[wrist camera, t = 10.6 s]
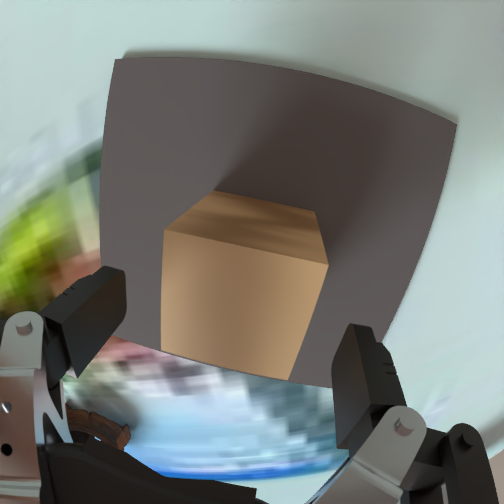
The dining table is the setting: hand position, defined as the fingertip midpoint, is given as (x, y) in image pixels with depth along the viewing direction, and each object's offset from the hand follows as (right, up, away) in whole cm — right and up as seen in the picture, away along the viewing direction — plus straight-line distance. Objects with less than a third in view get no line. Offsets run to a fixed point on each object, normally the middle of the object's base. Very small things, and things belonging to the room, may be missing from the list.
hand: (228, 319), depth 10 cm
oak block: (+1, +2, +5) cm, 6 cm away
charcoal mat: (+1, +3, +6) cm, 6 cm away
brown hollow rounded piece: (-17, -17, +17) cm, 30 cm away
